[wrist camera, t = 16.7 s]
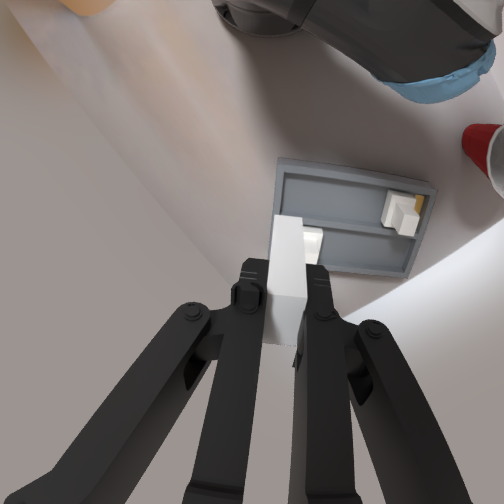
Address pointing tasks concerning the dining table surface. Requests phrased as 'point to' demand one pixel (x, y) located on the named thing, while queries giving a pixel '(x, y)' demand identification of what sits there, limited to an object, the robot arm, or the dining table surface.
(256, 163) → the dining table surface
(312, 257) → the tab
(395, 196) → the tab
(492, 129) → the plastic cup
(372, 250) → the grey divided tray
